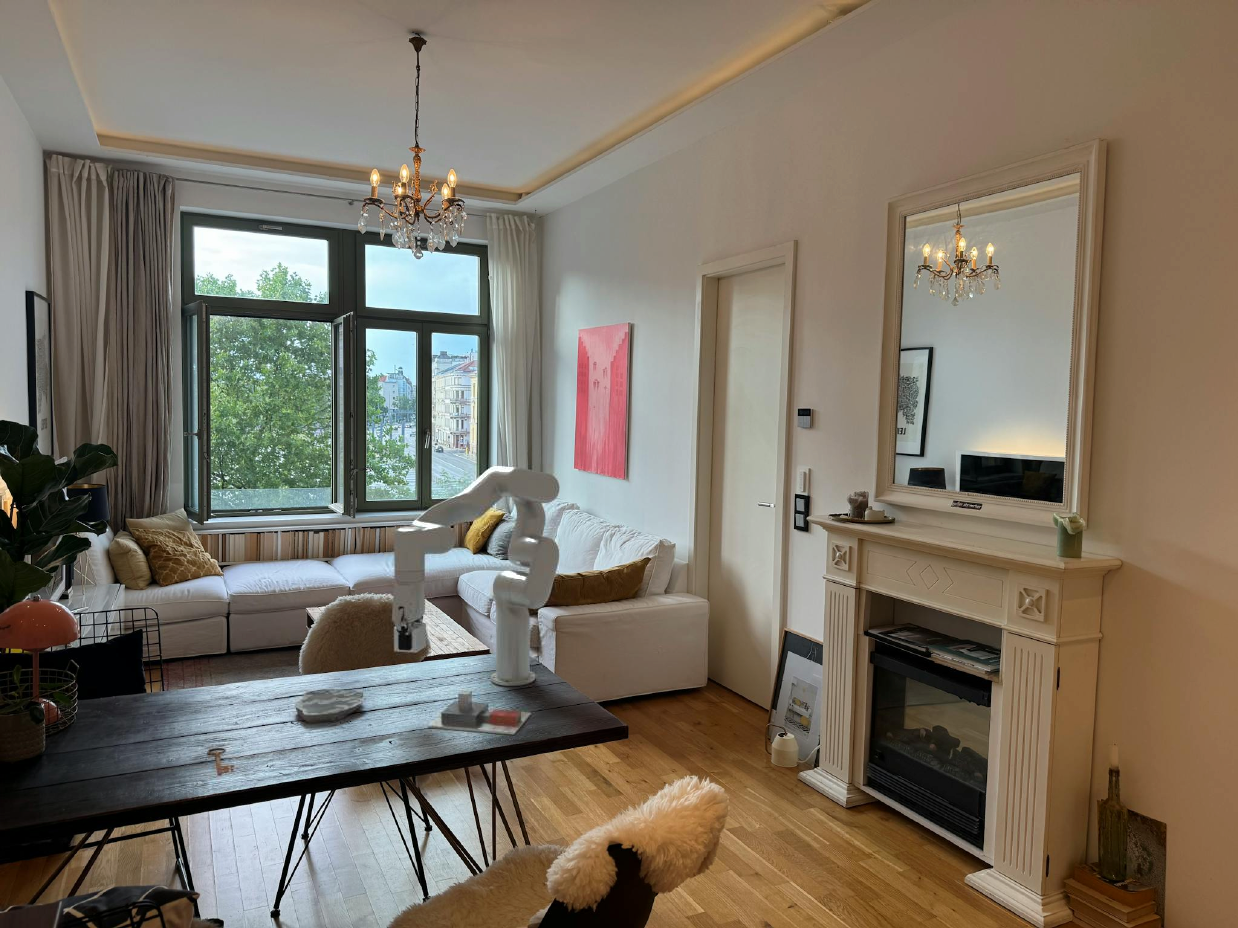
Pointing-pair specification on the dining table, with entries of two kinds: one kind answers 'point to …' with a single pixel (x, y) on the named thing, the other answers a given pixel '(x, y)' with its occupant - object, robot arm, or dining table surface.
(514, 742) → the dining table surface
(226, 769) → the key
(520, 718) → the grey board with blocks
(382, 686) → the dining table surface
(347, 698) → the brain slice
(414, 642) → the light grey cube
